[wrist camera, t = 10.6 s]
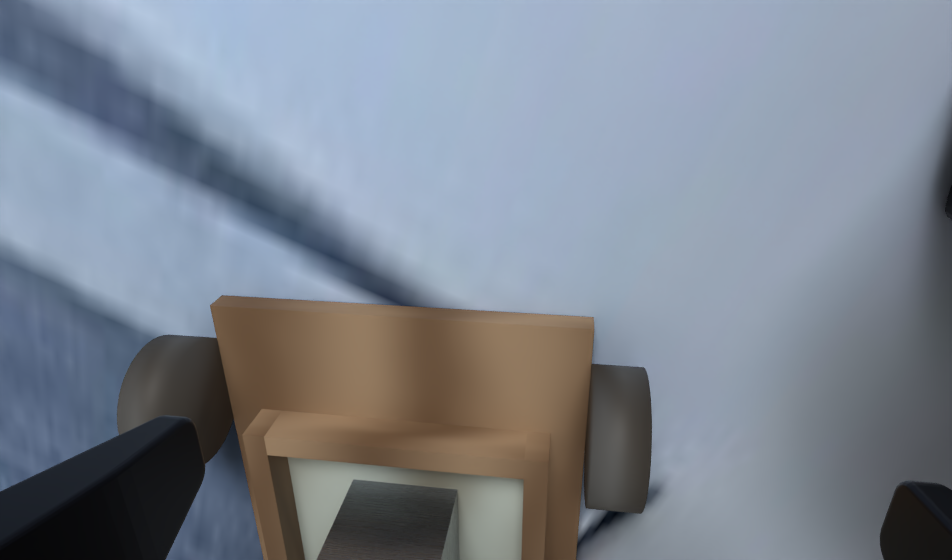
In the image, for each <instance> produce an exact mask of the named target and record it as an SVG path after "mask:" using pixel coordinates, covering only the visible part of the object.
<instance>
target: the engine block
mask: <svg viewBox="0 0 952 560" xmlns="http://www.w3.org/2000/svg"><path fill="white" fill-rule="evenodd" d="M317 560H460V554H459V519H458V490H456V489H446V488H436V487H426V486H416V485H406V484H396V483H386V482H376V481H366V480H355V479H353V481H352V483H351V485H350V488H349V490H348V492H347V494H346V496H345V499H344V501H343V503H342V505H341V507H340V509H339V512H338V514H337V516H336V518H335V520H334V522H333V525H332V527H331V529H330V531H329V533H328V536H327V538H326V540H325V542H324V544H323V546H322V549H321V551H320V553H319V555H318V557H317Z"/></svg>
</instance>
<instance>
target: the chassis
mask: <svg viewBox="0 0 952 560" xmlns="http://www.w3.org/2000/svg"><path fill="white" fill-rule="evenodd" d="M210 308H211V312H212V317H213V322H214V326H215V331H216V336H217V338H209V337H194V336H180V335H163V336H159V337H157V338H155V339H153V340H151V341H150V342H149V343H147V344H146V345H145V346H144V347H143V348H142V349H141V350H140V351H139V353H138V354H137V355H136V357H135V358H134V359H133V361H132V363H131V365H130V366H129V368H128V370H127V373H126V375H125V377H124V380H123V383H122V386H121V390H120V394H119V399H118V407H117V425H118V432H119V435H121V434H123V433H125V432H127V431H129V430H131V429H133V428H135V427H137V426H140V425H142V424H144V423H146V422H148V421H150V420H152V419H154V418H156V417H159V416H164V415H168V416H179V417H187V418H190V419H191V420H192V421H193V422H194V423H195V426H196V429H197V433H198V437H199V441H200V445H201V450H202V454H203V458H204V462H205V463H207V462H208V461H209V460H210V459H211V458H213V456H214V455H215V454H216V453H217V452H218V450H219V449H220V447H221V446H222V444H223V442H224V441H225V439H226V437H227V435H228V432H229V430H230V427H231V424H232V421H233V418H234V421H235V426H236V430H237V435H238V440H239V445H240V449H241V454H242V459H243V463H244V468H245V473H246V478H247V482H248V487H249V492H250V497H251V501H252V506H253V511H254V515H255V520H256V525H257V530H258V534H259V539H260V544H261V548H262V553H263V558H264V560H317V557H318V555H319V553H320V551H321V549H322V546H323V544H324V542H325V540H326V538H327V536H328V533H329V531H330V529H331V527H332V525H333V522H334V520H335V518H336V516H337V514H338V512H339V509H340V507H341V505H342V503H343V501H344V499H345V496H346V494H347V492H348V490H349V488H350V485H351V483H352V481H353V479H355V480H366V481H376V482H386V483H396V484H406V485H416V486H426V487H436V488H446V489H456V490H458V519H459V554H460V560H576V551H577V539H578V526H579V514H580V501H581V489H582V476H583V463H584V494H585V506H586V508H589V509H599V510H609V511H619V512H629V513H639V514H641V513H642V512H643V510H644V508H645V504H646V499H647V494H648V487H649V478H650V466H651V445H652V416H651V397H650V387H649V380H648V375H647V372H646V370H645V368H644V367H629V366H615V365H600V364H591V363H592V351H593V338H594V317H579V316H562V315H545V314H528V313H511V312H494V311H477V310H460V309H443V308H426V307H409V306H392V305H375V304H358V303H341V302H324V301H307V300H291V299H274V298H257V297H240V296H223V295H222V296H221V297H220V298H218V299H217V300H216V301H215V302H214V303H213V304H211V305H210ZM584 451H585V457H584Z"/></svg>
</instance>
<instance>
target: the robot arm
mask: <svg viewBox="0 0 952 560" xmlns="http://www.w3.org/2000/svg"><path fill="white" fill-rule="evenodd" d="M945 212H946V214H947V216H948V217H949V218H950V219H951V220H952V187H951V190H950V193H949V196H948V199H947V202H946V208H945ZM204 474H205V462H204V458H203V454H202V450H201V445H200V441H199V437H198V433H197V429H196V426H195V423H194V422H193V421H192V420H191V419H190V418H187V417H179V416H168V415H164V416H159V417H156V418H154V419H152V420H150V421H148V422H146V423H144V424H142V425H140V426H137V427H135V428H133V429H131V430H129V431H127V432H125V433H123V434H121V435H118V436H116V437H114V438H112V439H110V440H108V441H106V442H104V443H102V444H99V445H97V446H95V447H93V448H91V449H89V450H87V451H85V452H83V453H81V454H78V455H76V456H74V457H72V458H70V459H68V460H66V461H64V462H62V463H59V464H57V465H55V466H53V467H51V468H49V469H47V470H45V471H43V472H41V473H38V474H36V475H34V476H32V477H30V478H28V479H26V480H24V481H22V482H19V483H17V484H15V485H13V486H11V487H9V488H7V489H5V490H3V491H1V492H0V560H165V559H166V557H167V555H168V553H169V551H170V549H171V547H172V545H173V543H174V540H175V538H176V536H177V534H178V532H179V530H180V528H181V526H182V524H183V522H184V520H185V517H186V515H187V513H188V511H189V509H190V507H191V505H192V503H193V501H194V499H195V496H196V494H197V492H198V490H199V488H200V486H201V484H202V481H203V478H204ZM880 546H881V551H882V555H883V558H884V560H952V490H950V489H949V488H947V487H945V486H944V485H941V484H937V483H928V482H917V481H905V482H902V483H900V484H899V485H898V486H897V488H896V490H895V492H894V495H893V498H892V500H891V503H890V506H889V509H888V512H887V514H886V517H885V520H884V523H883V526H882V528H881V533H880Z"/></svg>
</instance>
